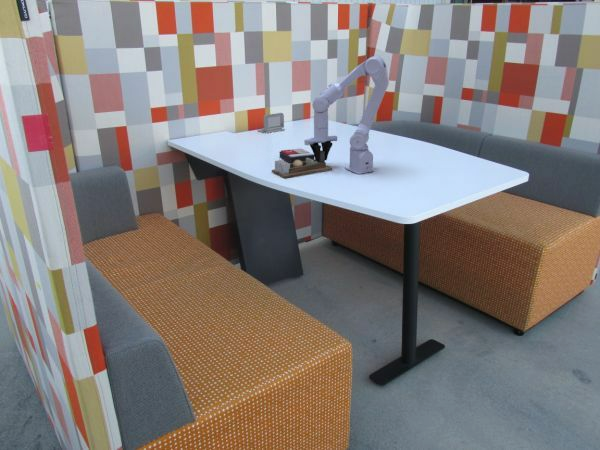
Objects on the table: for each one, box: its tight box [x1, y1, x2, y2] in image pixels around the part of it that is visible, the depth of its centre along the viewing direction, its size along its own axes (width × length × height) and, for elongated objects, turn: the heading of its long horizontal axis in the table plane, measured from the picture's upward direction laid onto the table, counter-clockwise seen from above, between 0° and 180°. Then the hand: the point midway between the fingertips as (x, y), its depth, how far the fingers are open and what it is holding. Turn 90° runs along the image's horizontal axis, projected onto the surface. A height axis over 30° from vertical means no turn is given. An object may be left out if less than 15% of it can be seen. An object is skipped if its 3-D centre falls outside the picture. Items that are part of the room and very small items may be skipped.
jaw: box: [306, 149, 327, 165], centre depth 205 cm, size 4×8×6 cm, turn 120°
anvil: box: [274, 159, 290, 175], centre depth 198 cm, size 7×3×4 cm, turn 30°
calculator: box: [278, 148, 315, 164], centre depth 220 cm, size 11×4×15 cm
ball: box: [293, 160, 303, 167], centre depth 202 cm, size 4×4×4 cm
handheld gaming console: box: [256, 112, 286, 135], centre depth 280 cm, size 13×9×10 cm
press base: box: [271, 158, 333, 180], centre depth 203 cm, size 11×22×3 cm, turn 120°
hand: (321, 160), depth 207 cm, fingers closed on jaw, 3 cm apart
